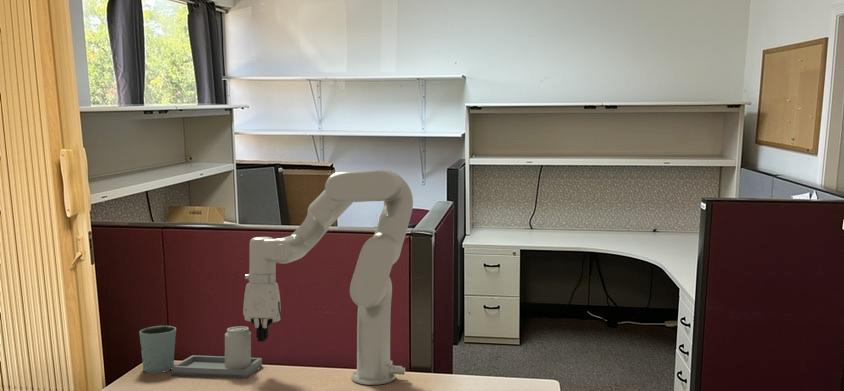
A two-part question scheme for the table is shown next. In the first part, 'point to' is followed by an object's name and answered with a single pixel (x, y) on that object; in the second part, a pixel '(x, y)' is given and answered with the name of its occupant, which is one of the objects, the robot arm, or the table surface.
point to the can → (237, 347)
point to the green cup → (157, 348)
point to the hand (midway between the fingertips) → (262, 340)
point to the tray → (213, 367)
